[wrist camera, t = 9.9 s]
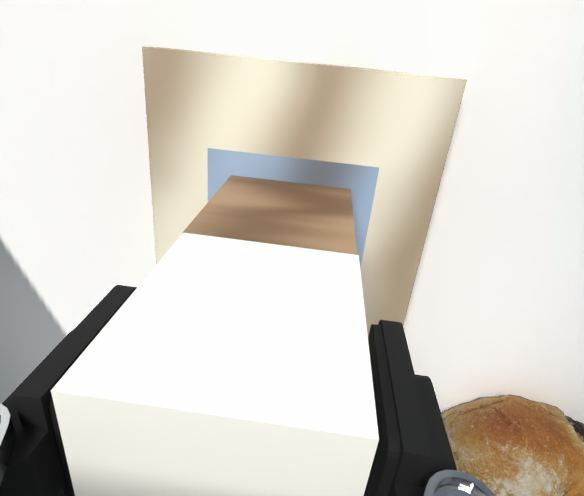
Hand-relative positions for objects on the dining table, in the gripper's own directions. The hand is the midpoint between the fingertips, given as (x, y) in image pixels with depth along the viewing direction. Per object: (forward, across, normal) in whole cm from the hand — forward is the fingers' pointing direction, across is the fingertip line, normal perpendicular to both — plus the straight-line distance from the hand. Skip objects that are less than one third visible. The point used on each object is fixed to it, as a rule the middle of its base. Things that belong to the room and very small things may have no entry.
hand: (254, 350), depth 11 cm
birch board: (+9, 0, 0) cm, 9 cm away
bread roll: (+9, -14, +13) cm, 21 cm away
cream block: (+2, 0, 0) cm, 2 cm away
